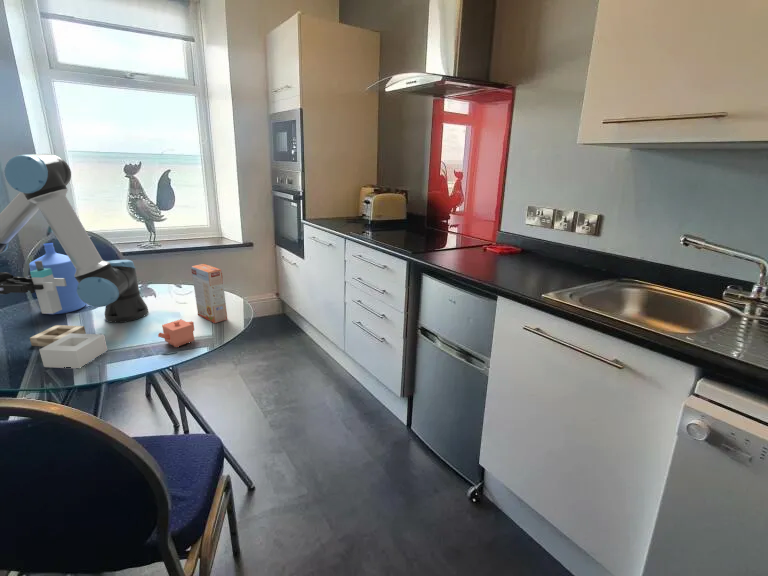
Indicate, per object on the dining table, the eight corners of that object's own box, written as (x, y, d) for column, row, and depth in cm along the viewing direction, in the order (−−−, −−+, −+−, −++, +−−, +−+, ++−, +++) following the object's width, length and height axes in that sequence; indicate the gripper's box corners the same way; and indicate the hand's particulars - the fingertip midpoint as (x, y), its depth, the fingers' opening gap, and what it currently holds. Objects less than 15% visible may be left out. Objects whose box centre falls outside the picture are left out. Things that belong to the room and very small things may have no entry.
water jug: (95, 301, 186) (80, 239, 177) (69, 315, 171) (52, 248, 162) (60, 301, 186) (44, 239, 177) (31, 315, 171) (12, 248, 162)
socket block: (74, 349, 142) (70, 333, 140) (107, 350, 141) (103, 334, 139) (44, 367, 131) (39, 349, 129) (80, 368, 130) (75, 351, 128)
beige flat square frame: (58, 332, 155) (56, 325, 154) (85, 333, 154) (84, 326, 153) (31, 345, 145) (29, 337, 144) (61, 347, 144) (59, 339, 143)
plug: (51, 309, 148) (37, 259, 142) (62, 309, 148) (48, 259, 142) (41, 313, 144) (27, 262, 139) (52, 313, 144) (38, 263, 138)
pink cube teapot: (155, 346, 144) (151, 324, 142) (189, 335, 153) (186, 314, 150) (166, 353, 139) (162, 330, 137) (200, 341, 148) (197, 319, 146)
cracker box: (228, 319, 167) (222, 269, 160) (214, 324, 162) (207, 272, 156) (211, 311, 175) (204, 262, 169) (197, 315, 171) (190, 265, 165)
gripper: (21, 285, 154) (81, 286, 152) (-26, 301, 137) (40, 303, 135) (15, 265, 151) (76, 266, 149) (-33, 280, 135) (34, 281, 133)
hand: (59, 284), depth 142 cm, fingers closed on plug, 4 cm apart
